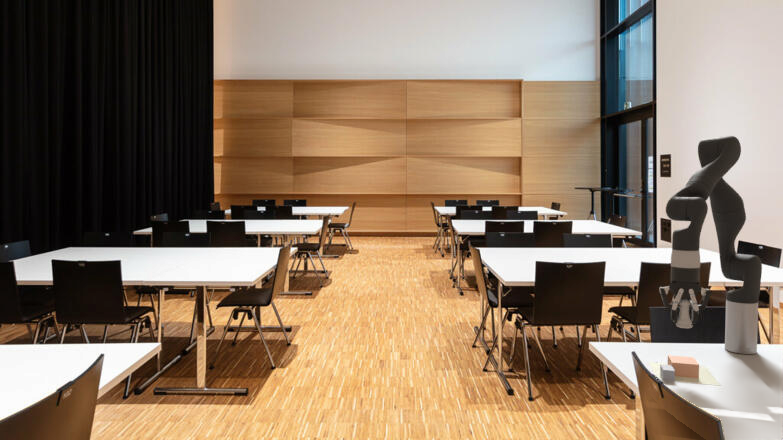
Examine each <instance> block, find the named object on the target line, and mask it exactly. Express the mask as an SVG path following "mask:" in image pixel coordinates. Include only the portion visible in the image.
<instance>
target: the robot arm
mask: <svg viewBox="0 0 783 440" xmlns="http://www.w3.org/2000/svg"><path fill="white" fill-rule="evenodd" d="M741 152H742V147H741V143H740V141H739V139H738V137H736V136H735V135H725V136H715V137H708V138H702V139H701V140H700V141H699V142H698V145H697V155H698V159H699V160H698V161H699V165H700V167H701V168H700V169H699V170H697V171H695V173H694V174H692V175H691V176H690V178H689V179H688V181H687V183H686V184H685V186H684V187H683V188H681V189H679V190H678V191H677V192H676V193H675V194H673V195H672V196H671V197H670V198H669V200H668V201H667V203H666V206H665V214H666V216H667V217H668V218H669V219H670V220H671V221H677V222H690V223H689V225H688V226H687V227H686V228H679V229H675V230H674V231H673V232H672V240H671V241H672V242H671V246H672V247H671V248H672V249H671V256H670V281H669V284H668V286H659V287H658V290H659V294H660V297H661V300H662V303H663V305H664V307H665V308H666V309H670V320H671V321H672V322H673V323H675V324H677V319H678V310H677V309H678V305H679V301H680V300H685V299H687V300H690V301H689V302H690V303H691V304H690V306H691V318H690V319H691V321H692V325H695V324H696V323H697V322H699V311H702V310H706V309H707V306H708V303H709V300H710V298H711V296H712V293H713V291H712V290H711V289H709V288H704V287H702V285H701V264H702V262H701V255H700V252H701V251H700V244H701V243H700V242H701V241H700V239H701V234H702V233H701V232H702V229H703V227H704V223H705V219H706V217H707V214H708V211H709V208H708V203H707V200H708V199H709V203H710V208H711V209H710V210H711V214H712V218H713V222H714V227H715V231H716V237H717V242H718V253H719V261H720V262H719V263H720V270H721V272H722V275H723V277H724V278H725V279H727V280H731V281H738V282H743V285H742V287H740V288H736V289H731V290H728V291H726V293H725V295H726V296H725V322H724V323H725V329H724V330H725V331H724V332H725V333H724V350H725V351H728V352H731V353H735V354H742V355H753V354H757V353H758V351H757V350H758V331H759V330H758V325H759V324H758V321H759V297H760V293H761V281H762V273H763V271H762V270H763V266H762V264H763V263H762V259H761V258H760V257H759V256H758V255H754V254H747V253H746V254H744V253H737V252H736V248H735V247H736V246H735V243H736V239H737V236H738V235H739V234H740V233H741V231H742V229H743V228H744V225H745V223H746V219H747V216H746V215H747V213H746V209H745V204H744V200H743V198H742V196H741V195H740V194H739V193H738V191H736V189H734V188H733V187H732V186H731V185H730V184H729V183H728V182H727V181H726V180H725V179H724V176H725V175H726V174H728V172H729V171H730V170H731V169H732V168H733V167H734V166H735V165H736V164H737V162H738V161H739V159H740V157H741V154H742V153H741ZM669 291H670V292H671V293H672V294H673V296H672V300H671V302H669V299H668V297H667V295H668V294H669ZM699 293H701V296H702V298H701V300H700V302H699V304H698V301H697V299H696V296H697V295H698V294H699Z"/></svg>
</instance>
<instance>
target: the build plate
mask: <svg viewBox="0 0 783 440" xmlns="http://www.w3.org/2000/svg"><path fill="white" fill-rule="evenodd" d="M648 363H649V365H650V367H651V369H652V371H653V373H654V376H655V375H656V376H657V377H658V378H659V379H661V380H660V381H664V382H665V381H666V380H663V379H662V377H661V375H660V364H662V365H668V363H662V362H648ZM656 376H655V377H656ZM666 382H667V381H666ZM674 382H678V383H687V384H688V383H689V384H699V385H708V386H719V387H721V386H722V385H721V384H720V383H719V381H718V380H717V378H716V377H715V376H714V375H713V374H712V372H711V371H710V369H709V368H708V367H707V366H700V365H699V378H689V377H678V376H675V381H674Z"/></svg>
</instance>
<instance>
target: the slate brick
mask: <svg viewBox="0 0 783 440" xmlns="http://www.w3.org/2000/svg"><path fill="white" fill-rule="evenodd" d="M660 375H661V377H662V379H663V380H662V381H664V380H666V382H675V370H674V368H673V367H672V365H662V364H660Z"/></svg>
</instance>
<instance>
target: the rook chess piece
mask: <svg viewBox="0 0 783 440" xmlns="http://www.w3.org/2000/svg"><path fill="white" fill-rule="evenodd" d="M678 305H679V308H678V309H679V314H678V316H677V323H675V325H676V327H678V328H680V329H691V328H693V323H692V321H691V318H690V317H691V315H690V309H691V308H690V306H691V302H690V300H687V299H683V300H680V301H679V303H678Z"/></svg>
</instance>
